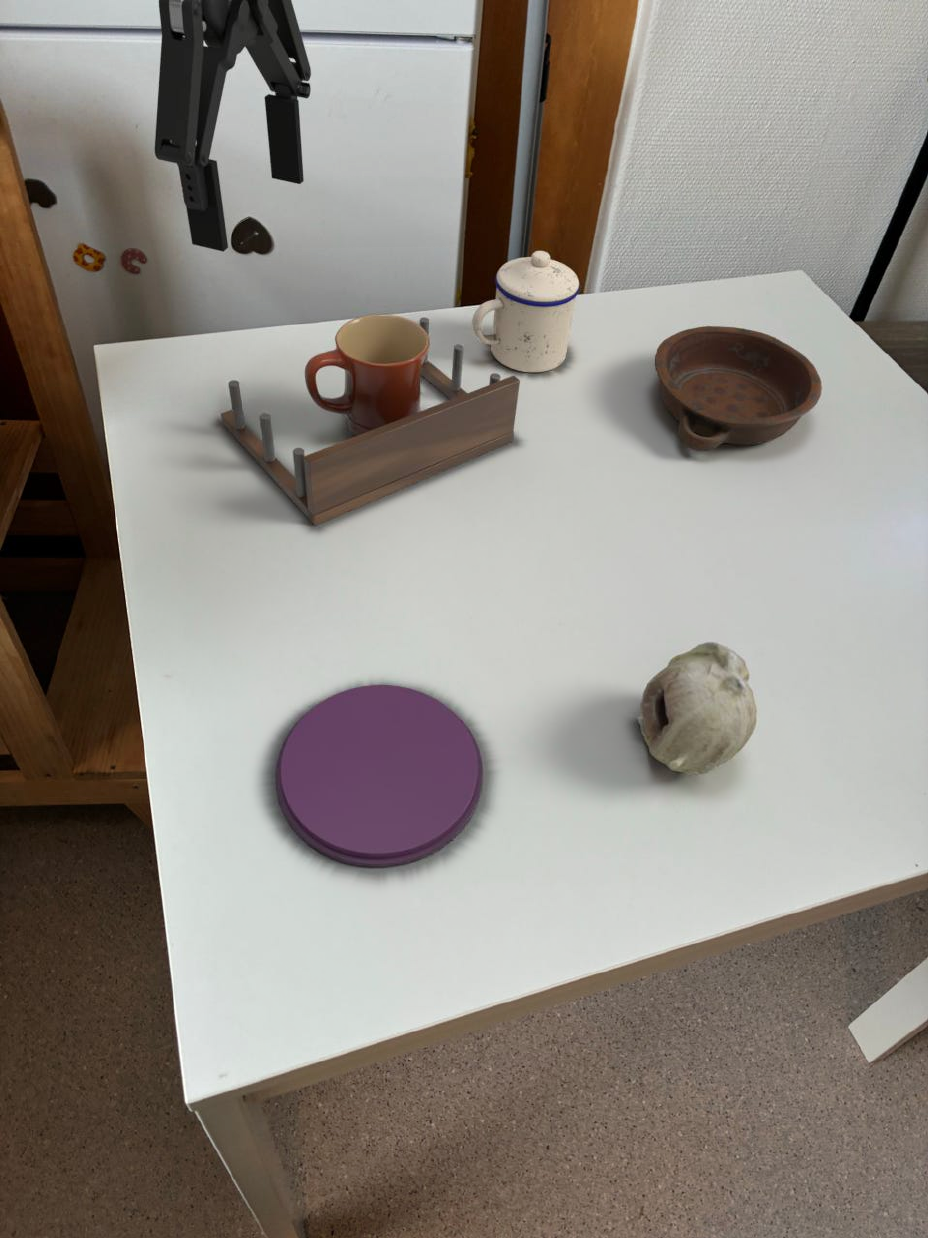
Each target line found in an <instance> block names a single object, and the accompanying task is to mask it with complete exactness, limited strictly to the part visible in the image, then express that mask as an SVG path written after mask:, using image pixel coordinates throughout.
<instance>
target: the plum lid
mask: <svg viewBox="0 0 928 1238" xmlns="http://www.w3.org/2000/svg"><path fill="white" fill-rule="evenodd" d="M483 769H484V768H483V760H482V756H481V751H480V748H479V745H478V743H477V741H476V738H475V737H474V735H473V734H472V732H471V730H470V728H469V727H468V725H466V723H465V722H464V721H463V719H462V718H460V717H459V716H458V715H457V713H456V712H455V711H453V710H452V709H451V708H449V707H448V705H445V704H444V703H443V702H442V701H439V700H438V699H436V698H435V697H433V696H431V695H429V694H426V693H424V692H422V691H420V690H416V689H413V688H411V687H410V688H409V687H405V686H400V685H390V684H371V685H363V686H358V687H353V688H349V689H346V690H343V691H341V692H338V693H335V694H334V695H331V696H329V697H327V698H326V699H324V700H322V701H320V702H319V703H317V704H316V705H315V706H314V707H312V708H311V709H309V711H307V712H306V713H305V714H304V715H303V716H302V717H301V718H300V719H299V720H298V721H297V722H296V723H295V724H294V726H293V727H292V728H291V730H290V731H289V732H288V734H287V736H286V737H285V739H284V741H283V743H282V745H281V748H280V750H279V753H278V757H277V761H276V765H275V775H274V776H275V789H276V794H277V799H278V803H279V806H280V808H281V811H282V813H283V816H284V817H285V819H286V821H287V822H288V824H289V826H290V827H291V828H292V829H293V831H294V832H295V833H296V835H297V836H299V837H300V838H301V839H302V840H303V841H304V842H305V843H306V844H307V845H308V846H310V847H311V848H313V849H315V850H316V851H317V852H319V853H321V854H323V855H324V856H326V857H328V858H331V859H333V860H336V861H339V862H341V863H344V864H348V865H352V866H357V867H368V868H388V867H395V866H401V865H406V864H410V863H413V862H416V861H419V860H421V859H424V858H426V857H428V856H431V855H432V854H434V853H435V852H438V851H439V850H441V849H442V848H443V847H445V846H447V844H449V843H450V842H452V841H453V840H454V839H455V838H456V837H457V836H458V835H459V834H460V833H461V832H462V831H463V830H464V828H465V827H466V825H468V823H469V821H470V820H471V818H472V816H473V814H474V812H475V811H476V808H477V805H478V803H479V801H480V798H481V792H482V788H483V777H484V770H483Z"/></svg>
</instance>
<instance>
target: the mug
mask: <svg viewBox="0 0 928 1238" xmlns="http://www.w3.org/2000/svg"><path fill="white" fill-rule="evenodd" d="M334 342H335V347H336V348H335V349H333V350H330V351H329V350H328V351H325V352H322V353H318V354H316V355H314V356H312V357H311V358H310V359H309V360H308V361H307V363H306V365H305V367H304V368H305V369H304V381H305V385H306V389H307V392H308V394H309V396H310V398H311V399H312V401H313V402H314V403H315V405H317V406H318V407H319V408H320V409H322V410H324V411H326V412H331V413H335V414H341V415H345V418H346V422H347V425H348V428H349V430H350V432H351V433H352V435H353V436H354V437H356V436H358V435H361V434H363V433H366V432H369V431H371V430H374V429H376V428H379V427H382V426H384V425H387V424H389V423H392V422H394V421H397V420H400V419H402V418H405V417H407V416H410V415H413V414H415V413H418V412H420V411H422V407H421V399H422V398H421V396H422V393H421V392H422V391H421V390H422V389H421V388H422V387H421V386H422V385H421V376H422V375H421V368H422V365H423V361H424V359H425V356H426V354H427V351H428V352H429V348H430V343H431V341H430V335H429V336H428V334H427V332H426V331H425V330H424V329H423V328H422V327H421V326H420V323H417V322H415V321H413V320H412V319H409V318H406V317H403V316H399V315H394V314H384V313H383V314H382V313H381V314H378V313H377V314H367V315H363V316H359V317H356V318H353V319H351V320H348V322H347V321H346V323H344V324H343V325H341V327H340V328H339V329H338V330H337V332H336V334H335V336H334ZM325 367H336V368H337V367H338V368H340V369H342V370H344V390H343V391H344V392H343V394H342V395H340V396H339V397H333V398H332V397H331V398H329V397H326V396H323V395H322V394H321V393H320V392H319V389H318V384H317V374H318V372H319V371H320V370H321V369H323V368H325Z"/></svg>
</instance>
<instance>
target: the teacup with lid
mask: <svg viewBox="0 0 928 1238" xmlns="http://www.w3.org/2000/svg"><path fill="white" fill-rule="evenodd" d="M494 281H495V282H494V283H495V284H494V285H495V286H496V289H495V299H491V300H487V301H484V302H483V303H481V304H480V305H479V306H478V307H477V309H476V310H475V311H474V313H473V316H472V320H471V326H472V331H473V333H474V335H475V337H476V338H477V339H478V341H480V342H481V343H482V344H486V345H490V351H491V353H492V355H493V357H494V358H495V359H496V360H497V362H498V363H501V364H502V365H503V366H505V367H506V368H507V367H508V368H509V369H512V370H514V371H519V372H524V373H544V372H547V371H548V372H549V371H551V370H554V369H556V368H557V367H559V366H560V365H561V364H563V362H564V361H565V359H566V357H567V353H568V352H567V351H568V346H569V340H570V335H571V330H572V322H573V316H574V310H575V305H576V300H577V297H578V294H579V293H580V290H581V289H580V287H581V286H580V281H579V278H578V275H577V274H576V272H575V271H574V270H573V269H572V268H570V267H569V266H567V265H566V264H564V263H562V262H559V261H556V260H554V259H551V255H550V254H549V252H547V251H544V250H536V251H534V252H532V254H531V256H525V257H518V258H515V259H512V260H509V261H507V262H505V263H504V264H503V265H502V266H501V267H500V268H499V269H498V271H497V272H496V275H495V277H494ZM492 311H493V321H492V329H491V330H492V332H491V334H484V333H483V331H482V322H483V319H484V318H485V316H487V315H488V314H489V313H490V312H492Z"/></svg>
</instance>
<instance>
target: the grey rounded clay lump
mask: <svg viewBox="0 0 928 1238" xmlns="http://www.w3.org/2000/svg"><path fill="white" fill-rule="evenodd" d="M749 679H750V672H749V668H748V667H747V664H746V661H745V660H744V658H742V657H741V656H740V655H739V654H738V653H737V652H735V651H734V650H733V649H731V648H729V647H728V646H727V645H726V646H725V645H723V644H721V643H719V642H714V641H708V642H704V643H701V644H698V645H696V646H695V647H693V648H692V649H690V650H688V651H686V652H684V653H681V654H678V655H677V654H676V656H674V657H672V658H671V659H670V660H669V661H668V663H667V666H666V667H664V668H663V669H661V670H660V671H659V672H658V673H656V674H655V675H654V676H653V677H652V678H651V679H650V680H649V681H648V682H647V684H646V686H645V688H644V690H643V692H642V698H641V701H640V713H641V715H640V716H639V717H638V718H637V721H638V724H639V726H640V727H639V728H640V734H641V736H642V737H643V740H644V741H645V743H646V745H647V746H648V751H649V753H650V755H651V756H652V758H654V759H655V760H657V761H658V762H660V763H661V764H664V765H666V766H667V767H668V769H669V770H670V771H673V772H675V771H676V772H679V773H680V772H681V773H684V774H687V775H688V776H695V777H696V776H698V775H705V774H708V773H709V772H711V771H712V770H713V769H715V768H718V767H720V766H721V765H725V764H726V763H727V762H729V761H730V760H731V759H733V758H734V757H735V756H736V755H737V754H738V753H740V751H741V750H743V748H744V747H745V746H746V744H747V743H748V741H749V740H750V739H751V737H752V735H753V734H754V732H755V729H756V726H757V713H758V711H757V704H756V702H755V701H756V700H755V695H754V691H753V690H752V688H751V686H750V685H749V683H748V682H749Z"/></svg>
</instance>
